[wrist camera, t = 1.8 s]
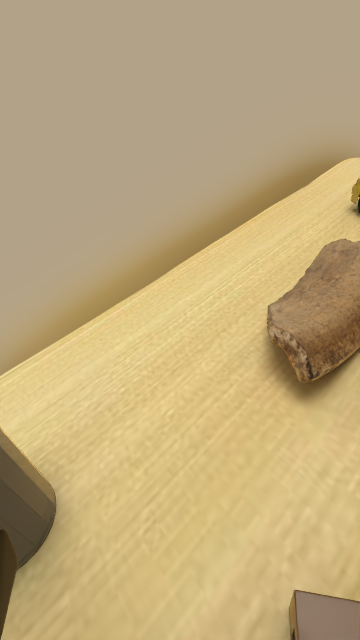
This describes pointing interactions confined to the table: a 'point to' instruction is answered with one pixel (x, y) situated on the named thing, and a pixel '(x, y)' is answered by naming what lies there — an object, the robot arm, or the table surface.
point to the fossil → (320, 313)
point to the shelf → (323, 617)
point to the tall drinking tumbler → (23, 501)
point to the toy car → (356, 193)
